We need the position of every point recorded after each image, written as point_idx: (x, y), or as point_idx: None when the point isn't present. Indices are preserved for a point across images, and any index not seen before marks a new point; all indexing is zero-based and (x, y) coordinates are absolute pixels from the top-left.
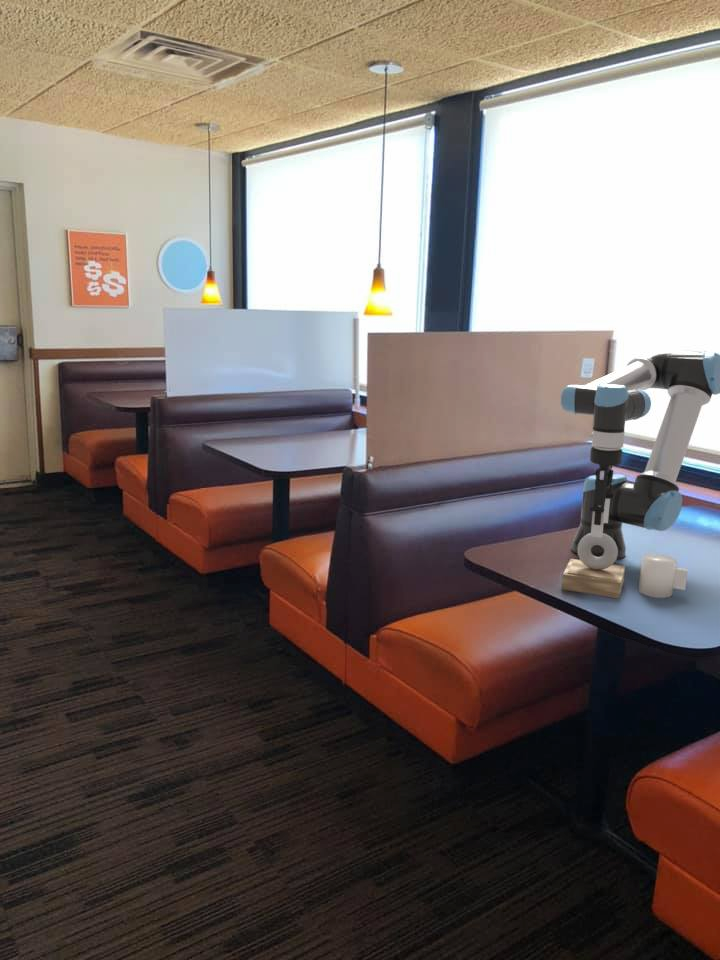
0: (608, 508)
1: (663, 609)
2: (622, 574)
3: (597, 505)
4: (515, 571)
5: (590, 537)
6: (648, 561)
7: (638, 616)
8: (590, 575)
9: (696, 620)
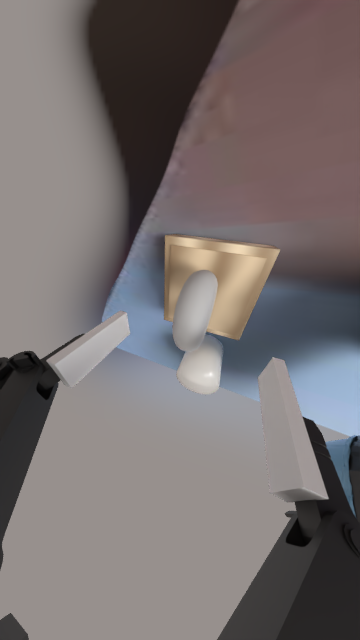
0: (264, 432)
1: (161, 340)
2: None
3: (35, 392)
4: (274, 61)
5: (175, 310)
6: (181, 366)
7: (134, 317)
8: (171, 284)
9: (150, 354)
